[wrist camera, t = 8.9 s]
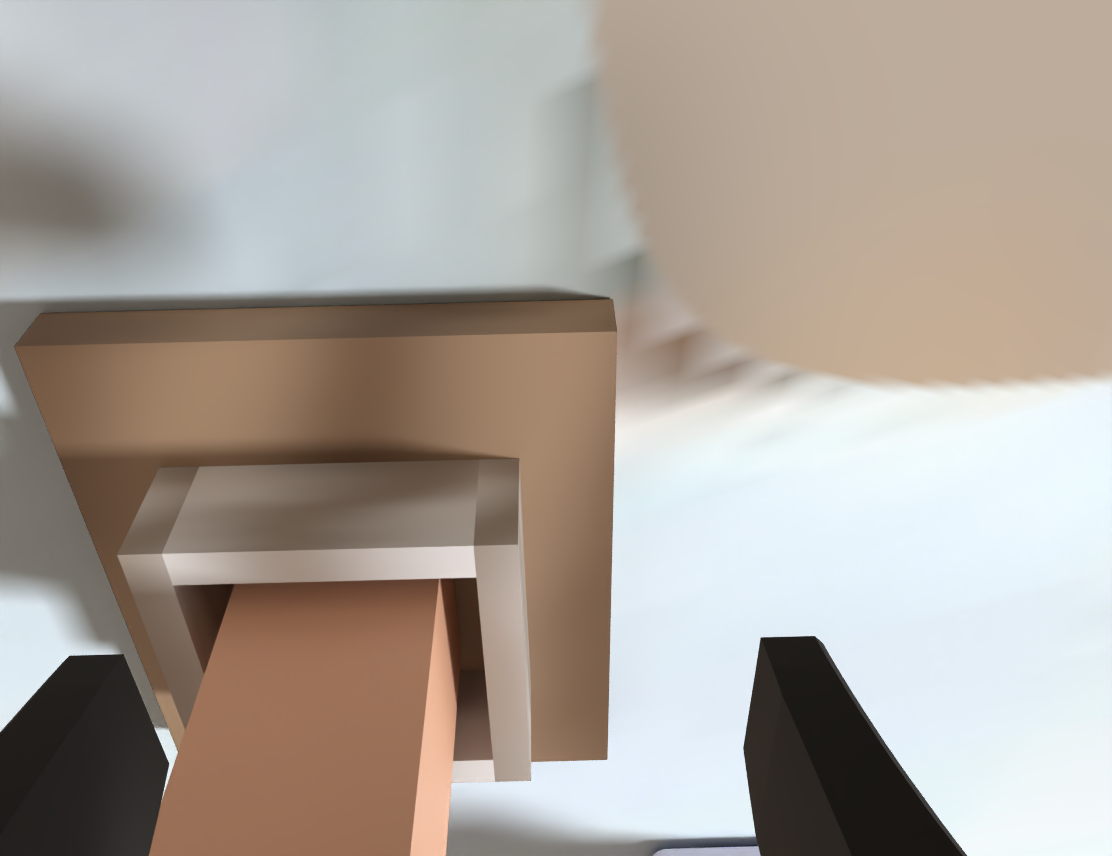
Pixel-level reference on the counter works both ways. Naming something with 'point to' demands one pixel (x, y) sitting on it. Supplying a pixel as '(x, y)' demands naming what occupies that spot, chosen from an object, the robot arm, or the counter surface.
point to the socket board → (357, 486)
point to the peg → (321, 725)
